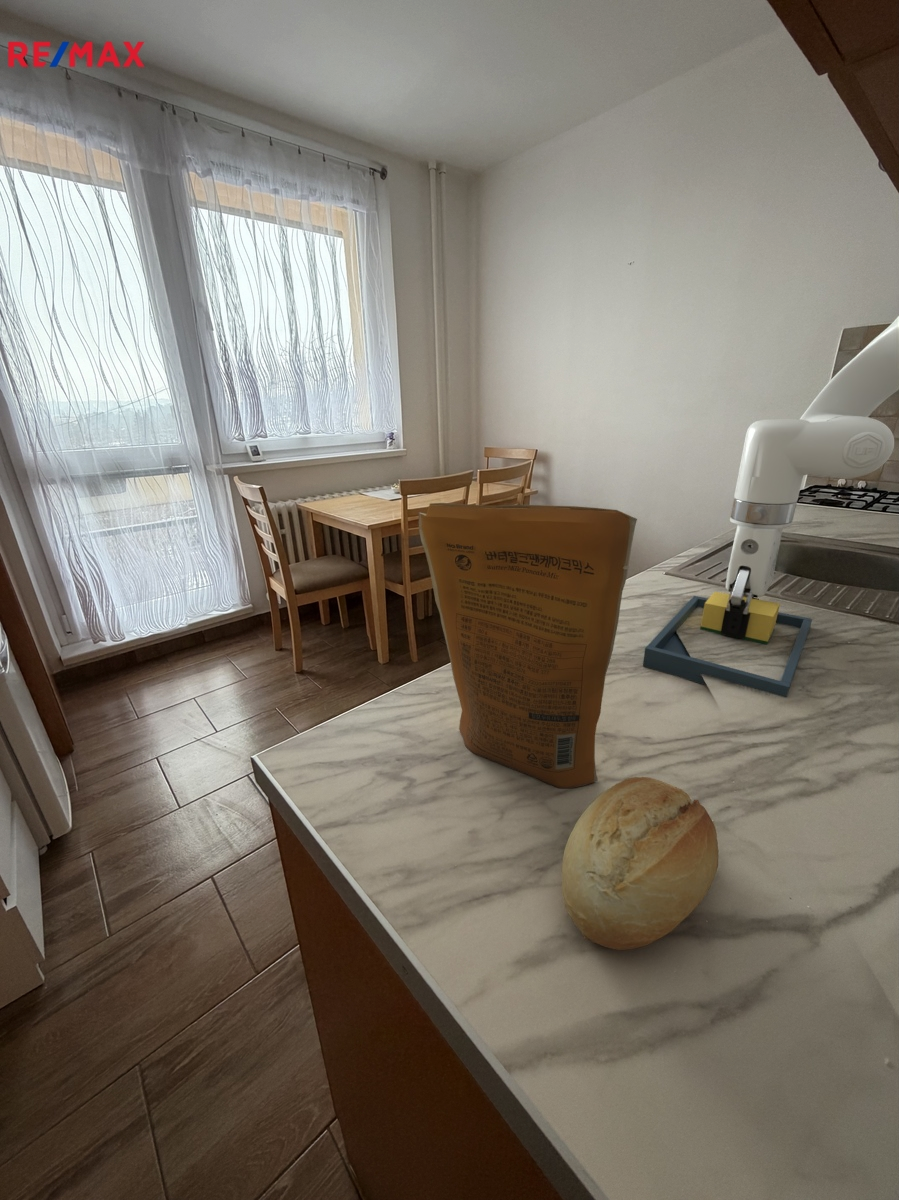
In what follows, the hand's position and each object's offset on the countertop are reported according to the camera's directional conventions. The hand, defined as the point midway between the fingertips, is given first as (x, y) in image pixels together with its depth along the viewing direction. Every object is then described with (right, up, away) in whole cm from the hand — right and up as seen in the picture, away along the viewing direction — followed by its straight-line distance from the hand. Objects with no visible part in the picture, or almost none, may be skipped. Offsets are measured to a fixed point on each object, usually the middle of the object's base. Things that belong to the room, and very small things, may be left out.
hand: (737, 626), depth 75 cm
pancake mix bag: (-37, -13, -23) cm, 46 cm away
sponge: (0, -1, 0) cm, 1 cm away
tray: (-3, -3, -3) cm, 5 cm away
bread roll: (-30, -19, -36) cm, 50 cm away
